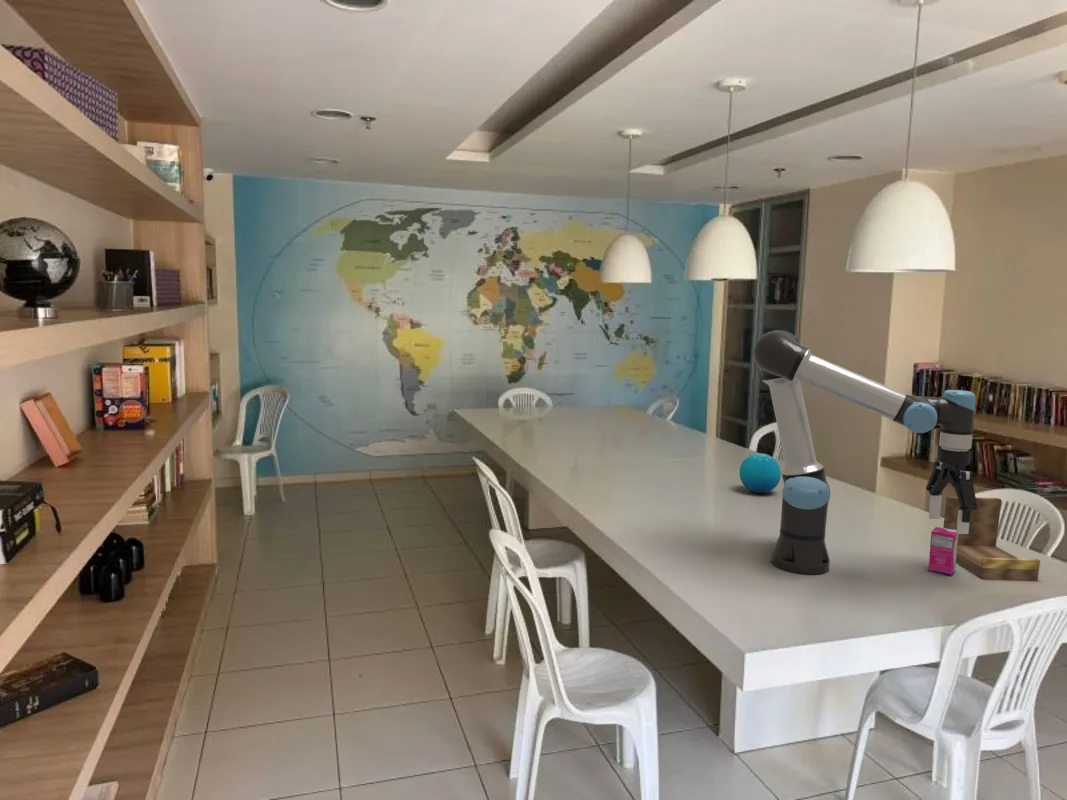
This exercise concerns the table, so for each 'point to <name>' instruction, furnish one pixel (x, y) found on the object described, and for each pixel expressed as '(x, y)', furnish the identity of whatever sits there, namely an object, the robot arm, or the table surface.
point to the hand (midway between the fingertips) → (947, 525)
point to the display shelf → (986, 544)
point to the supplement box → (943, 551)
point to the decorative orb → (760, 473)
